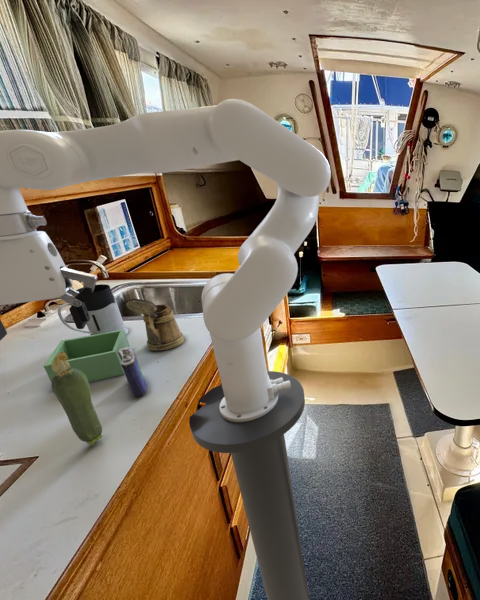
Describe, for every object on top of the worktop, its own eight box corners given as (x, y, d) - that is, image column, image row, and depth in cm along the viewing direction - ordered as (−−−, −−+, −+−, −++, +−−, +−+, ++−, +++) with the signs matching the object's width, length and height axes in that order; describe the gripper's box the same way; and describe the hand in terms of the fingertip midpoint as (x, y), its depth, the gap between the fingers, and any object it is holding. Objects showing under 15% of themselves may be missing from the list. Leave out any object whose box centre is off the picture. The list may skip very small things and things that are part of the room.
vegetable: (75, 445, 61) (29, 355, 53) (101, 428, 64) (61, 342, 56) (91, 451, 59) (47, 360, 51) (117, 434, 63) (79, 347, 55)
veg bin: (131, 349, 90) (124, 329, 87) (124, 374, 80) (115, 351, 78) (71, 362, 84) (61, 340, 81) (55, 390, 74) (43, 366, 72)
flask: (128, 380, 78) (114, 342, 74) (143, 375, 80) (130, 338, 76) (134, 400, 72) (118, 360, 68) (150, 394, 74) (136, 355, 70)
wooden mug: (133, 362, 85) (111, 300, 77) (155, 337, 97) (138, 281, 89) (171, 358, 87) (153, 297, 80) (189, 334, 99) (174, 279, 92)
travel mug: (135, 329, 100) (120, 284, 94) (89, 354, 88) (68, 304, 81) (111, 326, 101) (94, 282, 95) (61, 351, 89) (38, 301, 82)
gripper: (83, 218, 53) (115, 312, 59) (-85, 225, 44) (-25, 333, 51) (69, 227, 47) (107, 330, 53) (-127, 236, 38) (-52, 357, 45)
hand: (43, 332), depth 52 cm, fingers open, 9 cm apart
